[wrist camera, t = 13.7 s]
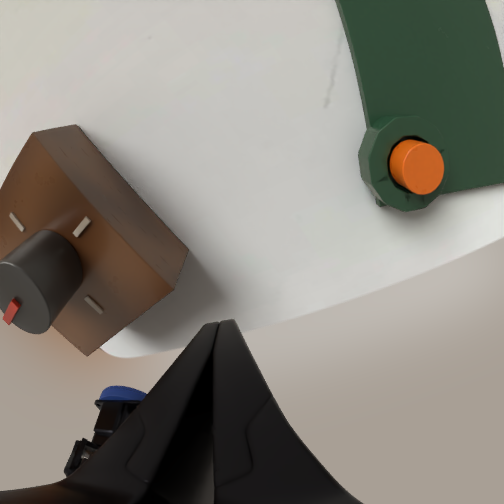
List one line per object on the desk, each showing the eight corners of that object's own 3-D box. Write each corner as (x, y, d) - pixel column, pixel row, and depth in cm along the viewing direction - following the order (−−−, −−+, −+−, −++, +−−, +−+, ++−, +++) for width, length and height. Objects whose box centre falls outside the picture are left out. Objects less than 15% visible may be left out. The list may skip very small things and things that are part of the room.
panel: (189, 249, 20) (173, 291, 16) (108, 316, 23) (86, 358, 18) (76, 123, 16) (30, 132, 11) (14, 216, 19) (-24, 242, 14)
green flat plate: (507, 179, 18) (526, 187, 16) (360, 207, 19) (374, 219, 17) (472, -19, 10) (489, -25, 8) (301, -43, 11) (308, -60, 9)
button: (430, 183, 16) (445, 191, 15) (391, 190, 16) (404, 199, 15) (426, 137, 15) (442, 141, 13) (386, 142, 15) (400, 146, 14)
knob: (44, 214, 14) (-2, 248, 10) (95, 269, 15) (60, 315, 11) (18, 258, 15) (-20, 294, 11) (63, 305, 16) (32, 349, 12)
